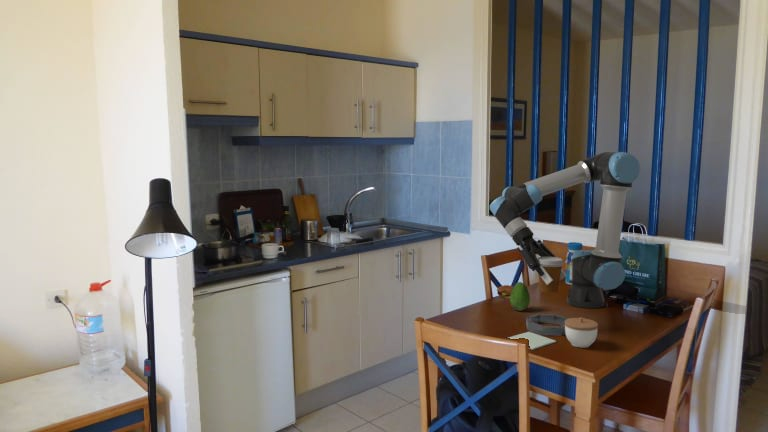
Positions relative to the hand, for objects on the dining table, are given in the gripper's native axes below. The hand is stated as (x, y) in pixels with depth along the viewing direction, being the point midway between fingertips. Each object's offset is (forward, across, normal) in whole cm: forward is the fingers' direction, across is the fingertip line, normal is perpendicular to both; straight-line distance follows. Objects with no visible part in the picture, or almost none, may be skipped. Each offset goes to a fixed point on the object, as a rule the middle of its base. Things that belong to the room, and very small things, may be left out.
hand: (556, 279), depth 200 cm
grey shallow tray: (+11, -1, -16) cm, 19 cm away
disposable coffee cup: (+1, 0, -6) cm, 6 cm away
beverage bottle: (-6, -71, -34) cm, 79 cm away
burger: (-13, -29, -41) cm, 52 cm away
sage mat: (+13, +16, -14) cm, 25 cm away
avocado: (-3, -13, -30) cm, 33 cm away
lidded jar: (+23, +7, -4) cm, 24 cm away
